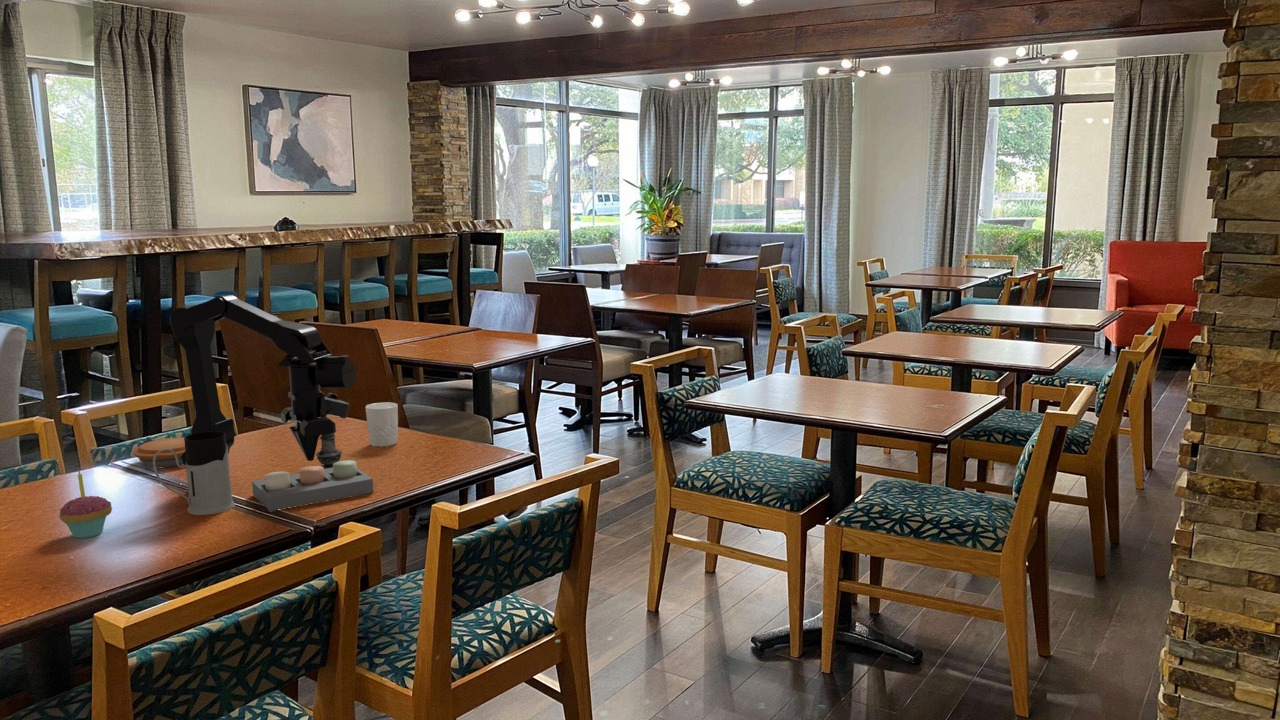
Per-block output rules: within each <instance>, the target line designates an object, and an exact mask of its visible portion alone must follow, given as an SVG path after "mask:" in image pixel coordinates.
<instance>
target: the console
mask: <svg viewBox="0 0 1280 720" xmlns="http://www.w3.org/2000/svg"><path fill="white" fill-rule="evenodd" d="M289 475H290V488H287V489H281V490H275V491H270V492H267V491H266V489H265V478H264V479H257V480H253V481H251V486H252V487H251V488H252V496H253V495H254V496H255V497H256V498H257V499H258V500H259V501H260V502H261V503H262V504H263V505H264V506H265V507H266V508H267V509H266V508H265V507H264V506H263V505H262V504H261V503H260V502H259V501H258V500H257V499H256V498H255V499H256V500H257V501H258V502H259V503H260V504H261V505H262V506H263V507H264V508H265V509H266V510H267V511H268V512H269V513H273V511H274V512H276V511H275V510H278V509H283V508H288V507H294V506H299V505H305V504H310V503H316V502H321V503H323V502H322V501H326V500H331V501H334V500H333V499H337V500H340V499H339V498H342V499H346V498H345V497H347V498H351V497H350V496H352V497H357V496H356V495H358V496H361V495H367V494H372V493H374V479H373V478H372V477H371V476H369V475H368V474H366V473H364V472H363V471H362V470H360V469H359V468H357V476H354V477H348V478H342V479H337V480H336V479H335V478H334V472H333V468H327V469H324V480H325V482H320V483H315V484H309V485H303V486H302V485H301V484H300V472H299V473H293V474H289ZM254 496H253V497H254ZM326 502H327V501H326ZM316 504H317V503H316ZM305 506H306V505H305Z"/></svg>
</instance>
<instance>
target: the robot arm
mask: <svg viewBox="0 0 1280 720" xmlns="http://www.w3.org/2000/svg"><path fill="white" fill-rule="evenodd" d="M224 318H227V320H230V321H231V322H234V323H237V324H239V325H240V326H243V327H245V328H247V329H248V330H250V331H253V332H256V333H257V334H260V335H261V336H264V337H265V338H268V339H269V340H270V341H272V343H273V345H275V347H276V348H277V349H279V350H280V351H282V352H284V353H285V354H286V355H285V357H284V358H283V359H282V360H281V361H280V362H278V366H279V367H283V368H284V367H287V368H288V373H289V387H290V391H288V395H287V396H288V398H290V399H291V400H290V401H291V406H289V407H284V408H283V409H282V410H281V412H280V416H281V417H280V419H281V422H282V423H284V424H288V422H289V421H292V425H293V426H289V430H290V431H291V434H292V436H294V439H295V440H296V442H297V444H298V446H299V447H300V449H301V451H302V453H303V455H304V457H305V459H306V460H307V461H308V462H312V461H314V459H315V456H316V451H317V446H318V442H319V439H320V437H321V435H325V434H331V433H334V434H335V433H336V432H337V427H336V423H335V422H334V420H332V419H331V418H329V417H327V416H328V415H331V416H335V417H339V418H341V419H347V415H348V413H349V408H350V403H349V402H347V401H343V400H341V399H339V398H338V397H339V396H338V395H337V394H336V393H332V392H328V393H327V394H326V395H325V393H324V392H323V391H321V388H322V389H337V390H338V389H342V390H343V389H345V390H350V389H352V388H353V387H354V386H355V383H356V379H357V369H356V368H355V365H354V364H353V362H352V361H350V360H351V359H350V355H348V354H347V355H346V354H345V355H334V354H333V353H332V351H331V350H330V348H329V347H328V346H327V345H326V343H325V342H324V341H323V340H322V337H321V335H320V331H319V330H318V329H317V328H315V326H312V325H308V324H304V323H300V322H294V321H289V320H285V319H281V318H279V317H277V316H274V315H273V314H271V313H269V312H267V311H265V310H262V309H260V308H258V307H256V306H254V305H252V304H250V303H247V302H245V301H243V300H241V299H239V298H238V297H237V296H235V295H233V294H223V295H218V296H215V297H214V298H212V299H209V300H207V301H205V302H202V303H199V304H193V305H187V306H181V307H178V308H176V309H175V310H174V311H173V312H172V314H170V317H169V321H170V323H169V324H170V326H171V329H172V331H173V335H174V338H175V339H176V341H177V342H178V343H179V345H180V346H181V347H182V348H183V350H184V353H185V360H186V366H187V372H188V376H189V382H190V389H191V395H192V401H193V407H194V408H193V409H194V412H195V413H194V414H195V417H194V421H193V423H192V427H191V429H190V435H191V434H195V433H200V432H211V431H218V432H224V433H225V435H226V443H227V447H228V455H229V453H230V451H231V450H230V449H231V448H232V446H233V445H234V443H235V437H237V433H236V432H235V425H234V424H235V423H234V418H232V417H231V418H227V417H226V416H225V415H224V414H223V412H222V410H221V405H220V399H219V394H218V393H219V392H218V387H217V381H216V376H215V375H216V373H215V368H214V362H213V356H212V349H211V345H212V342H213V338H214V336H215V333H216V326H215V325H216V322H218V321H220V320H223V319H224ZM320 387H321V388H320ZM181 459H182V461H183V463H184V465H186V452H184V453H183V454H182V455H181ZM184 465H183V466H184Z"/></svg>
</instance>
